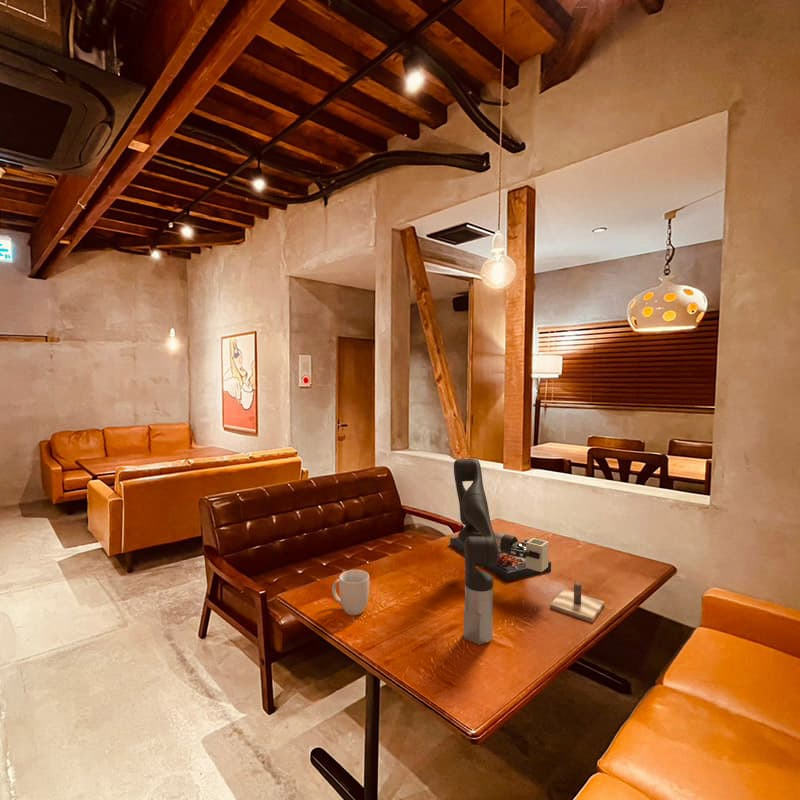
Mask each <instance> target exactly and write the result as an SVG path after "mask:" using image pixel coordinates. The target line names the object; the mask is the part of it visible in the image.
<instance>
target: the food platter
mask: <svg viewBox="0 0 800 800" xmlns="http://www.w3.org/2000/svg"><path fill="white" fill-rule="evenodd" d="M449 545H450V546H451V547H452V548H454V549H455V550H456V551H459V552H461V554H463V555H465V553H464V544H462V543H461V542H460V541H459V539H458V536H454V537H449ZM482 567H483V568H485V569H487V570H488V571H490V572H491V573H493V574H495V575H496V576H497V577H500V578H501V580H504V581H505V582H512V581H516V580H519V579H524V578H528V577H531V576H535V575H540V574H544V573H547V572H551V571H552V561H550V560H548V567H547V568H546V569H545V570H544V571H543V572H539V571H536V570H532V569H529V568H526V558H520V557H516V556H512V555H509V554H506V553H502V552H499V560H498V563H497V564H496V565H494V566H482Z"/></svg>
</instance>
